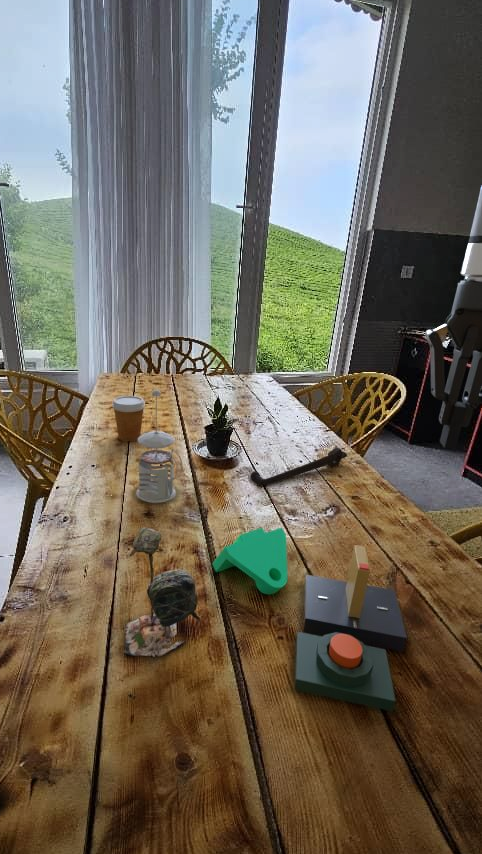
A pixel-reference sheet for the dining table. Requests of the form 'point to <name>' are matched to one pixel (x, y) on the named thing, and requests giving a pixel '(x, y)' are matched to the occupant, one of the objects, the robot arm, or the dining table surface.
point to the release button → (345, 651)
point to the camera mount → (258, 558)
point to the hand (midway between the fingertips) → (447, 445)
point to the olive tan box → (357, 581)
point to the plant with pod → (160, 603)
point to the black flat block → (373, 626)
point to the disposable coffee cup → (128, 416)
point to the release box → (343, 673)
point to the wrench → (303, 467)
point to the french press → (162, 486)
